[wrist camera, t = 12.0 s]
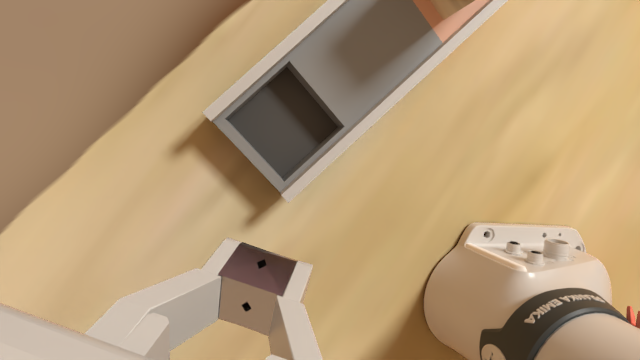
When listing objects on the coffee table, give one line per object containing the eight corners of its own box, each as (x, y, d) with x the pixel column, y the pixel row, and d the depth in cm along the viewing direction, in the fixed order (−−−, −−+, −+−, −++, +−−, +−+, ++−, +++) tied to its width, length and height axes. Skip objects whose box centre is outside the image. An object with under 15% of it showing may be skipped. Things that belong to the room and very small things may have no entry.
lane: (284, 194, 36) (288, 202, 31) (209, 115, 33) (202, 112, 29) (498, -2, 37) (530, -21, 33) (440, -92, 35) (467, -125, 30)
